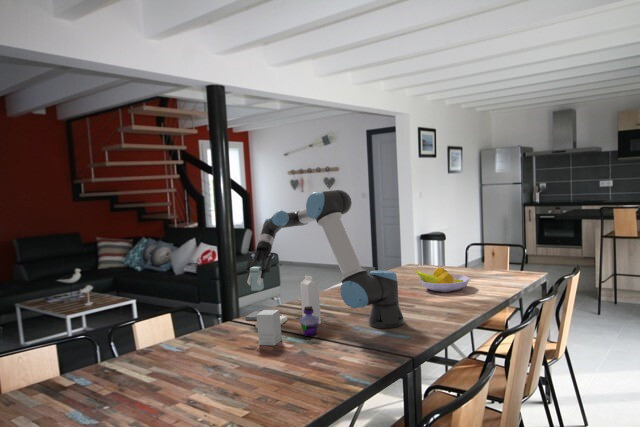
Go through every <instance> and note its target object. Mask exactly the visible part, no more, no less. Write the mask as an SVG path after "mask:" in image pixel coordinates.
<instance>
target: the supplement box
mask: <svg viewBox="0 0 640 427" xmlns="http://www.w3.org/2000/svg"><path fill="white" fill-rule="evenodd" d="M280 315H281V314H280V309H263V310H262V311H261V312H260V313H258V314H257V315H256V317H257V320H256V323H257V327H258V328H257V336H258V345H259V346H277V345H278V344H280V342H281V341H282V340H283V337H282V327H281V325H282V324H280Z"/></svg>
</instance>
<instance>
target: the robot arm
mask: <svg viewBox="0 0 640 427" xmlns="http://www.w3.org/2000/svg"><path fill="white" fill-rule="evenodd" d="M305 204H306V205H305V208H302V209H300V210H297V211H291V212H287V211H285V210H282V209H281V210H278V211H276V212H275V213H274V214H273V215H272V216H271V217H269V218H266V219H265V220H264V223H263V224H262V229H261V232H260V236H259V239H258V242H257V244H256V249H255V251H254V253H249V254H248V260H247V264H246V266H245V271H246V272H247V276H246V277H247V282H246V283H247V284H248V286H251V278H250V268H252V267H258V264H260V262H261V266H262V269H261V270H262V271H260V273H259V277H258V280H257V283H258V285H261V281H262V279H263V280H264V278H265V275H266V273H270V271H271V267H272V265H273V261H274V259H275V257H276V256H275V254H274V253H273V252H272V249H273V245H274V241H275V238H276V235H277V233H278V232H279V231H280V230H281V229H285V228H286V229H287V228H292V227H299V226H300V227H301V226H302V227H303V226H305V225H308V224H309V223H311V222H314V221H316V223H317V225H318V226H320V227H322V229H323V232H324V234H325V237H326V239H327V241H328V243H329V246H330V248H331V251H332V253H333V255H334V257H335V260H336V262H337V265H338V267H339V269H340V272H341V274H342V278H341V280H340V282H341V285H340V291H339V293H340V296H341V299H342V301H343V303H345V305H346V306H347V307H350V308H351V309H361V308H364V307H367V306H371V310H370V314H369V317H368V324H369V326H371V327H372V328H376V329H394V328H399V327H401V326H403V325H404V323H405V318H404V315H403V312H402V310H401V308H400V307H401V306H400V305H399V304H400V303H399V288H398V287H399V286H398V283H399V282H398V277H397V273H396V272H394V271H391V270H371V271H369V272H368V271H367V269H365V268H362V266H361V264H360V261H359V259H358V256H357V255H356V252H355V250H354V247H353V245H352V243H351V240H350V238H349V236H348V234H347V231H346V228H345V227H344V224H343V222H342V220H341V219H342V216H343V215H346V214H347V213H348V212H349V211H350V210H351V208H352V198H351V196H350V194H349V193H347V192H346V191H344V190H340V189H335V190H323V191H322V190H319V191H314V192H312V193H310V194H309V195H308V197H307V200H306V203H305Z"/></svg>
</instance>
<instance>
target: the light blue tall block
mask: <svg viewBox="0 0 640 427" xmlns="http://www.w3.org/2000/svg"><path fill="white" fill-rule="evenodd" d="M261 269H262V265H261V266H259V265H257V266H256V267H252V268H250V278H251V285H250V288H251V289H250V290H251V291H253V292H255V291H257V292H258V291H262V290H263V289H264V288H265V287H264V278H263V279H262V281H261V285H258V283H257V280H258V277H259V273H260V271H262V270H261Z"/></svg>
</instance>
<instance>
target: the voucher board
mask: <svg viewBox="0 0 640 427" xmlns="http://www.w3.org/2000/svg"><path fill="white" fill-rule="evenodd" d="M287 320H288V315H286V314H284V315H283V314H280V324H281V325H283V324H284V323H285V322H286V321H287ZM255 329H258V327H257V322H256V323H255Z"/></svg>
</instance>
